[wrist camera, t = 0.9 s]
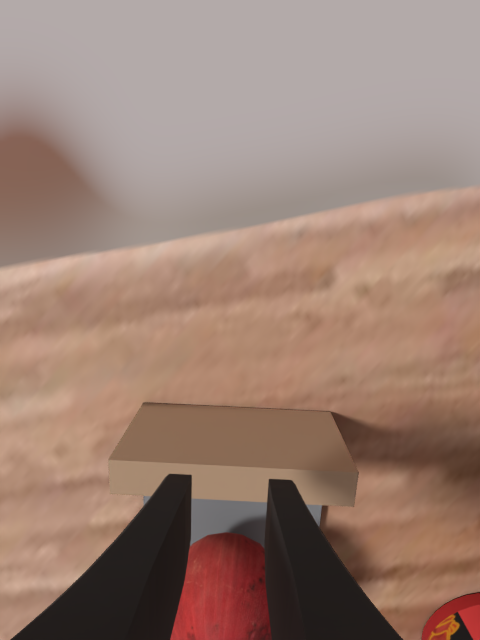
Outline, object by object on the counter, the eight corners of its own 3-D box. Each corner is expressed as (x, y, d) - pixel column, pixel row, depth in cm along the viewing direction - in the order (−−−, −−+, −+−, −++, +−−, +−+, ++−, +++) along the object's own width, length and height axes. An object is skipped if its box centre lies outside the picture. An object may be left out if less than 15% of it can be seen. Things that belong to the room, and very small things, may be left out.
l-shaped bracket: (307, 616, 22) (324, 722, 17) (148, 607, 22) (120, 710, 18) (330, 411, 19) (358, 472, 14) (143, 402, 19) (108, 459, 14)
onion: (271, 489, 20) (281, 654, 12) (289, 574, 21) (309, 773, 13) (170, 504, 20) (116, 671, 12) (193, 585, 21) (157, 784, 14)
